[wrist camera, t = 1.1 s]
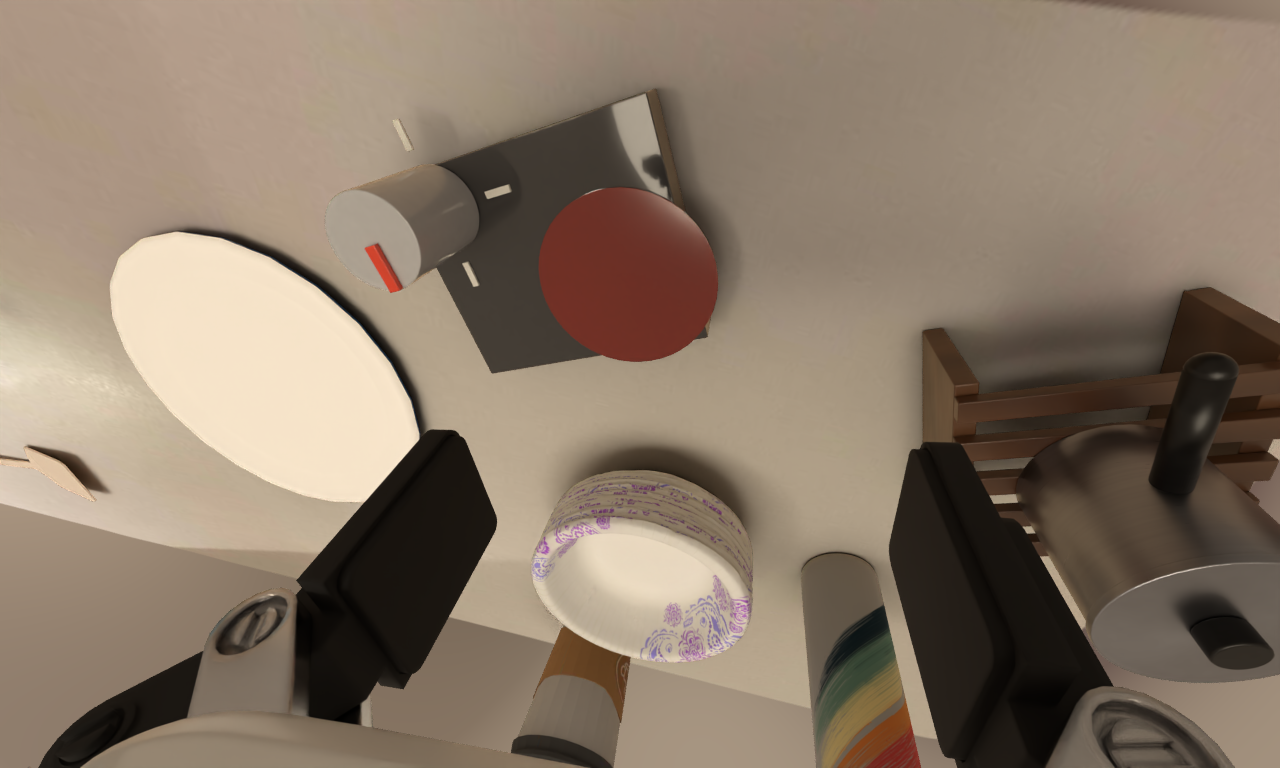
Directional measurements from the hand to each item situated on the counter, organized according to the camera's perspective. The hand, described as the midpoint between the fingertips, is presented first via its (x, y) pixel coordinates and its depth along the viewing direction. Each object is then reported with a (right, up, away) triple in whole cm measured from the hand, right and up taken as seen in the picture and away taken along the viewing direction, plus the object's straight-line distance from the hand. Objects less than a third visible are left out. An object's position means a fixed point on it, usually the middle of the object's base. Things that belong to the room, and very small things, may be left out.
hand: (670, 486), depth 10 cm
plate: (-30, +2, +29) cm, 41 cm away
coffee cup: (-4, -20, +38) cm, 43 cm away
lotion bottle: (+15, -13, +29) cm, 35 cm away
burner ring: (-1, +8, +15) cm, 17 cm away
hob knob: (-11, +11, +15) cm, 22 cm away
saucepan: (+20, 0, +11) cm, 23 cm away
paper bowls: (+1, -8, +29) cm, 30 cm away
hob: (-6, +11, +17) cm, 21 cm away
